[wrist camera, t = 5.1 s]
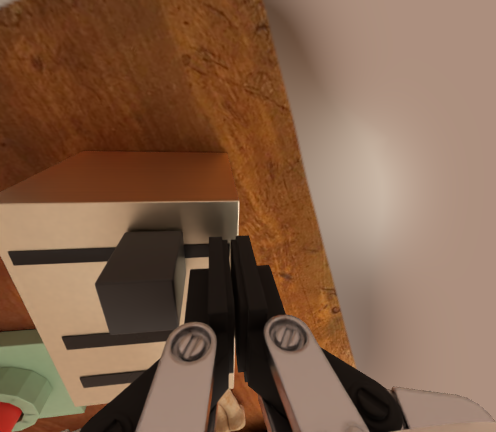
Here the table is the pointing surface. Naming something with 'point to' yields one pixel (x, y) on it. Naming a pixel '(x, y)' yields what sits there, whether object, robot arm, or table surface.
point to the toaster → (107, 250)
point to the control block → (31, 379)
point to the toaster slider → (143, 283)
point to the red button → (8, 416)
